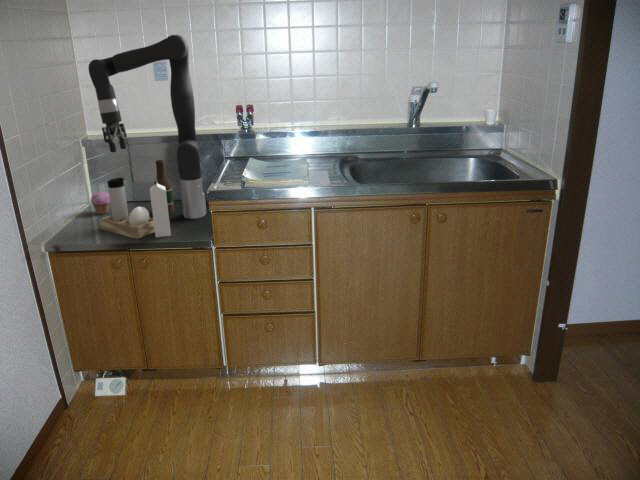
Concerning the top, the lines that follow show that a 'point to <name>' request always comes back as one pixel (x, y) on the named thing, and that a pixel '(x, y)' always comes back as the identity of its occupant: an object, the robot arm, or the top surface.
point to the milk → (160, 210)
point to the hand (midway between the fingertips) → (118, 150)
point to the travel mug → (118, 199)
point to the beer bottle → (164, 184)
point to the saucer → (138, 216)
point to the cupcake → (101, 202)
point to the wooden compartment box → (127, 227)
